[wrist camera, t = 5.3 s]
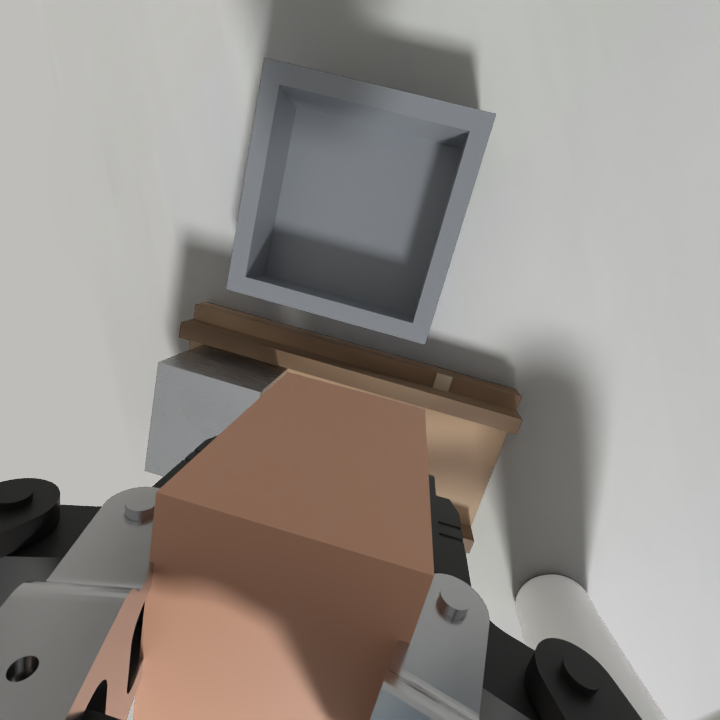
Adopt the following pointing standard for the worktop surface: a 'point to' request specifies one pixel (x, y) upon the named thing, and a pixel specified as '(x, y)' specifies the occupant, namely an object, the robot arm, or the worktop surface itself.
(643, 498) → the worktop surface
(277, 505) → the block
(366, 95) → the tray
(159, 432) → the block
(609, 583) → the worktop surface
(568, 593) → the white cylinder
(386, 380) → the guide board
